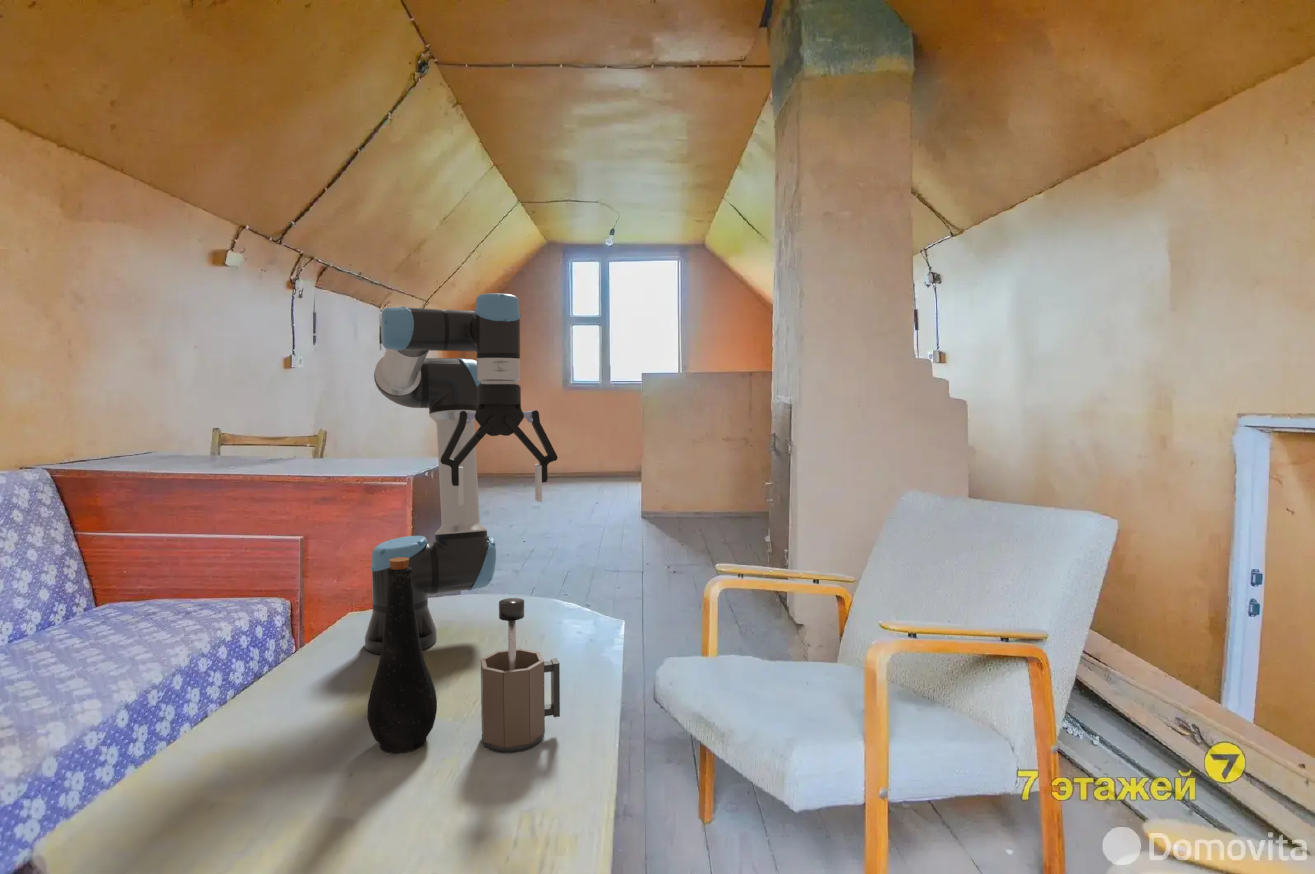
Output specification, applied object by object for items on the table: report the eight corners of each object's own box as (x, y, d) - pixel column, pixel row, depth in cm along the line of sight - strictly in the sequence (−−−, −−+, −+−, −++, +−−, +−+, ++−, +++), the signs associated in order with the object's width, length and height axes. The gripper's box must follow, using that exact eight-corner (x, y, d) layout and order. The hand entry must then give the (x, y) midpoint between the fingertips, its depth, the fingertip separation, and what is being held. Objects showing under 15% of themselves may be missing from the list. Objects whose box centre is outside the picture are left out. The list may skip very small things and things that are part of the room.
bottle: (416, 762, 111) (412, 569, 109) (354, 755, 113) (348, 565, 111) (449, 730, 121) (446, 553, 119) (392, 724, 123) (387, 550, 121)
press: (479, 728, 122) (478, 652, 121) (553, 717, 126) (552, 644, 125) (484, 757, 112) (483, 675, 111) (564, 744, 116) (564, 665, 115)
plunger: (489, 720, 120) (487, 597, 119) (530, 715, 123) (529, 593, 121) (494, 739, 114) (492, 609, 113) (537, 733, 116) (536, 605, 115)
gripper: (425, 382, 120) (427, 509, 122) (573, 383, 128) (573, 502, 130) (424, 382, 127) (426, 502, 129) (564, 383, 135) (565, 496, 137)
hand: (500, 502), depth 129 cm, fingers open, 13 cm apart
